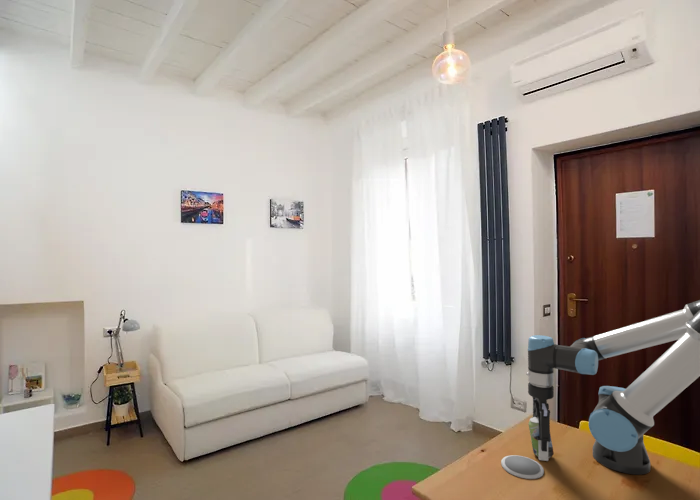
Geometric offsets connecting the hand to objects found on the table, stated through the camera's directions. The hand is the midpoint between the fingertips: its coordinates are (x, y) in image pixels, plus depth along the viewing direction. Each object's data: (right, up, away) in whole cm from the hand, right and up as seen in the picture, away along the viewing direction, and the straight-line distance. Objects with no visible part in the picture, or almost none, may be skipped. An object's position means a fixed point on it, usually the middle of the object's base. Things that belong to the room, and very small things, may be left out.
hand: (541, 454), depth 126 cm
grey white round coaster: (-9, 0, -7) cm, 11 cm away
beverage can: (0, -1, 0) cm, 1 cm away
